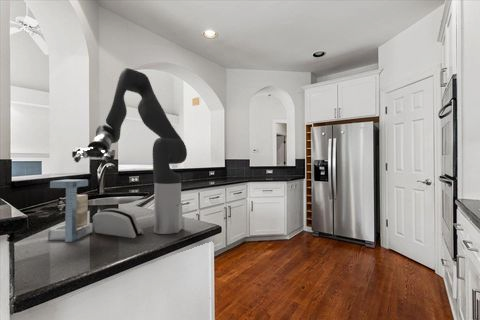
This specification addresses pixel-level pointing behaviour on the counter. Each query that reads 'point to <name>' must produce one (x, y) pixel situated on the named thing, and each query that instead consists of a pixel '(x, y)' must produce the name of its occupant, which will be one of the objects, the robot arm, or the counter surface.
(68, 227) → the grey i-shaped block
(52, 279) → the counter surface
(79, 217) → the link
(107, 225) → the gray curved wedge
